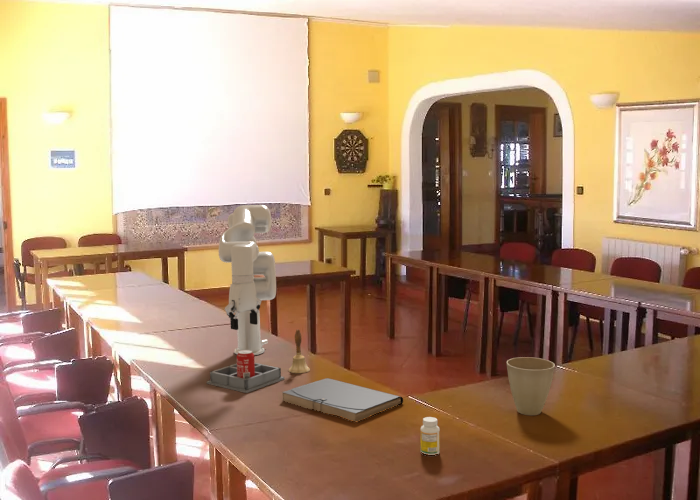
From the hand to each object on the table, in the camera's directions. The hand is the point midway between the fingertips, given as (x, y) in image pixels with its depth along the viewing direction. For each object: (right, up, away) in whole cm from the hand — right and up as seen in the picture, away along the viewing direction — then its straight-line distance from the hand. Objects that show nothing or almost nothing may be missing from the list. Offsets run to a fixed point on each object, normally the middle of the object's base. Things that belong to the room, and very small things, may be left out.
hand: (244, 326), depth 274 cm
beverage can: (0, -21, +3) cm, 21 cm away
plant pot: (+95, -25, -28) cm, 102 cm away
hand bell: (+18, -19, +22) cm, 34 cm away
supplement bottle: (+60, -29, -61) cm, 90 cm away
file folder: (+35, -25, -17) cm, 46 cm away
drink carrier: (-1, -21, +9) cm, 23 cm away
